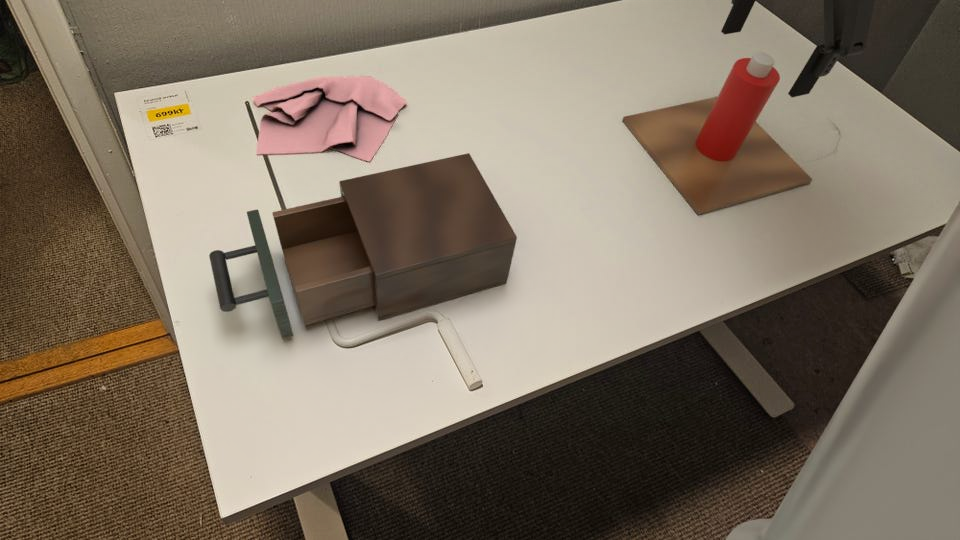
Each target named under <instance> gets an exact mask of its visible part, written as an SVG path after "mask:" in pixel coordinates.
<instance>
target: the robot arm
mask: <svg viewBox="0 0 960 540" xmlns="http://www.w3.org/2000/svg"><path fill="white" fill-rule="evenodd" d="M756 2H757V0H731V2H730V3H731V4H732V7H731V8H730V11H729V13H728V15H727V18H726V19H725V22H724V24H723V26H722V28H721V30H720V32H721V33H722V34H723V35H729V34H735V33H736V34H737V33H741V32H742V30H743V28H744V25H745V23H746V21H747V19H748V17H749V15H750V13H751V11H752V9H753V7H754V5H755V3H756ZM875 3H876V0H823V32H824V33H823V34H824V35H823V40H824V41H823V44H820V45H816V47H815V48H814V50H813V51H812V53H811V55H810V56H809V57H808V60H807V61H806V62H805V64H804V66H803V68H802V69H801V71H800V73H799V74H798V76H797V78H796V79H795V81H794V83H793V85H792V86H791V88H790V90H789V91H788V93H787V94H788V95H789V96H790V97H791V98H796V97H801V96H806V95H810V92H811V91H812V90H813V88H814V86H815V85H816V83H817V82H818V80H819V79H820V77H826V76H827V75H828V74H830V72H831V71H832V70H833V68H834V66H835V65H836V63H837V62H838V61H839V59H840V57H842V58H843V57H844V58H845V57H849V56H855V55H860V54H863V53H864V52H865V50H866V48H867V47H866V46H867V42H868V37H869V31H870V28H871V22H872V17H873V13H874V9H875ZM948 218H949V219H948V220H947V221H946V223H945V225H944V227H943V228H942V230H941V231H940V233H939V235H938V237H937V239H936V240H935V242H934V244H933V246H932V247H931V249H930V250H929V252H928V254H927V256H926V257H925V259H924V260H923V262H922V264H921V266H920V267H919V269H918V271H917V273H916V274H915V276H914V278H913V279H912V281H911V283H910V284H909V286H908V288H907V290H906V291H905V293H904V294H903V296H902V298H901V300H900V302H899V303H898V305H897V306H896V308H895V310H894V312H892V315H891V316H890V318H889V319H888V321H887V323H886V325H885V327H884V329H883V330H882V332H881V334H880V335H879V337H878V338H877V340H876V342H875V343H874V345H873V347H872V349H871V350H870V352H869V354H868V355H867V357H866V359H865V361H864V362H863V363H862V366H861V367H860V369H859V371H858V373H856V376H855V378H854V379H853V381H852V382H851V384H850V386H849V388H848V389H847V391H846V392H845V394H844V396H843V398H842V400H841V401H840V403H839V405H838V406H837V408H836V410H835V411H834V413H833V414H832V417H831V418H830V420H829V422H828V423H827V425H826V426H825V428H824V430H823V431H822V433H821V435H820V437H819V438H818V440H817V441H816V443H815V445H814V447H813V449H812V450H811V452H810V454H808V455H809V456H807V459H806V461H805V462H804V464H803V465H802V467H801V469H800V471H799V472H798V474H797V476H796V478H795V479H794V481H793V483H792V484H791V485H790V487H789V489H788V491H787V493H786V494H785V496H784V498H783V499H782V501H781V503H780V505H779V506H778V508H777V510H776V511H775V513H774V515H773V516H772V518H756V519H750V520H748V521H745V522H742V523H740V524H739V525H737V526H736V527H734V528H732V530H731V531H730V532H729V534H728V535H727V536H726V538H725V540H960V200H959V202H958V203H957V205H956V207H955V209H954V210H953V212H952V213H951V214H950V217H948Z"/></svg>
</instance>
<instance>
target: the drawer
mask: <svg viewBox="0 0 960 540" xmlns="http://www.w3.org/2000/svg"><path fill="white" fill-rule="evenodd" d="M246 216H247V219H248V224H249V227H250V231H251V234H252V238H253V239H252V240H253V242H254V245H250V246H246V247H242V248H238V249H234V250H229V251H226V252H224V251H223V250H220V249H216V250H213V251H211V252H210V253H209V255H208V256H209V261H210V262H209V263H210V266H211V272H212V276H213V281H214V286H215V290H216V295H217V301H218V304H219V305H218V306H219V309H220V311H221V312H225V313H228V312H232V311H234V310H235V309H236V308H237V306H238V305H242V304H246V303H250V302H254V301H258V300H261V299H265V298H268V299H269V303H270V306H271V309H272V312H273V316H274V318H275V322H276V325H277V328H278V331H279V334H280V337H281V340H285V339H288V338H292V337H294V332H293V329H292V324H291V321H290V318H289V314H288V311H287V307H286V303H285V300H284V296H283V292H282V289H281V286H280V282H279V278H278V274H277V270H276V267H275V263H274V260H273V256H272V253H271V249H270V246H269V242H268V239H267V236H266V233H265V229H264V225H263V222H262V219H261V214H260V210H259V209H251V210H249V211H248V210H247V211H246ZM272 217H273V222H274V224H275V228H276V232H277V236H278V240H279V243H280V248H281V251H282V255H283V259H284V261H285V265H286V269H287V271H288V275H289V279H290V281H291V286H292V289H293V292H294V295H295V299H296V302H297V307H298V309H299V313H300V316H301V320H302V323H303V326H308V325H311V324H315V323H318V322H322V321H326V320H329V319H332V318H336V317H340V316H342V315H346V314H350V313H354V312H357V311H360V310H364V309H367V308H372V307H373V306H375V305H376V298H375V284H374V273H373V271H372V268H371V265H370V263H369V260H368V258H367V255H366V253H365V250H364V247H363V245H362V242H361V240H360V237H359V234H358V232H357V229H356V227H355V224H354V221H353V219H352V216H351V214H350V211H349V209H348V206H347V203H346V201H345V198H344V196H343V197H341V196H338V197H333V198H330V199H325V200H321V201H317V202H316V201H315V202H311V203H308V204H307V203H306V204H303V205H298V206H294V207H290V208H284V209H280V210H276V211H272ZM252 254H257V258H258V261H259V266H260V269H261V273H262V276H263V280H264V284H265V287H266V288H265V289H261V290H259V291H258V290H257V291H254V292H250V293H247V294H243V295H240V296H236V297H235V293H234V290H233V285H232V281H231V277H230V272H229V267H228V263H227V260H232V259H236V258H240V257H245V256H249V255H252Z"/></svg>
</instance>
